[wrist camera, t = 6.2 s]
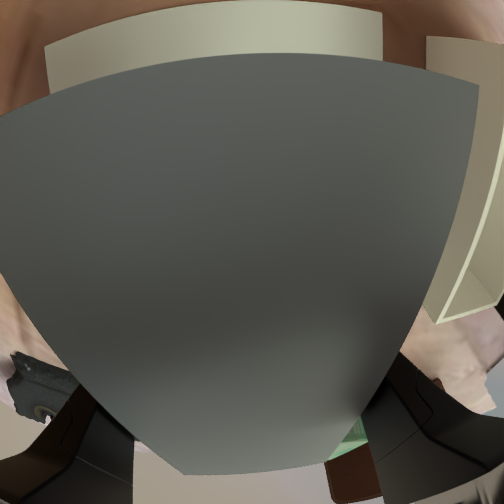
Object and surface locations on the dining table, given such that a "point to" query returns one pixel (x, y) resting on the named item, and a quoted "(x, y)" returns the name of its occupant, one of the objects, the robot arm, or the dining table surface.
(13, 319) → the dining table surface
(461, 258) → the base
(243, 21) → the pale cream mat
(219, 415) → the grey rectangular block
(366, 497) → the letter holder
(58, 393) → the dark slate chunk
